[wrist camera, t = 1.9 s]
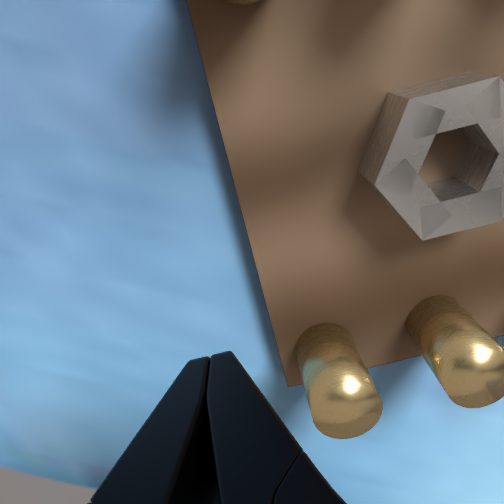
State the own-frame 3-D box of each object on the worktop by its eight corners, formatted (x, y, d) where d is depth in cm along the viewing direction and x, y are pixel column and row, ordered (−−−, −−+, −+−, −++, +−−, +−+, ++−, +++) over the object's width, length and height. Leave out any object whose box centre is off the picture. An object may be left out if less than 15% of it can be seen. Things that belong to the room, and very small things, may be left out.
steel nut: (510, 194, 19) (541, 210, 17) (366, 229, 19) (382, 250, 17) (509, 60, 17) (545, 64, 15) (347, 102, 17) (364, 110, 15)
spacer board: (705, 274, 22) (722, 282, 21) (285, 376, 23) (288, 387, 22) (808, -259, 14) (839, -274, 14) (165, -84, 15) (162, -90, 14)
